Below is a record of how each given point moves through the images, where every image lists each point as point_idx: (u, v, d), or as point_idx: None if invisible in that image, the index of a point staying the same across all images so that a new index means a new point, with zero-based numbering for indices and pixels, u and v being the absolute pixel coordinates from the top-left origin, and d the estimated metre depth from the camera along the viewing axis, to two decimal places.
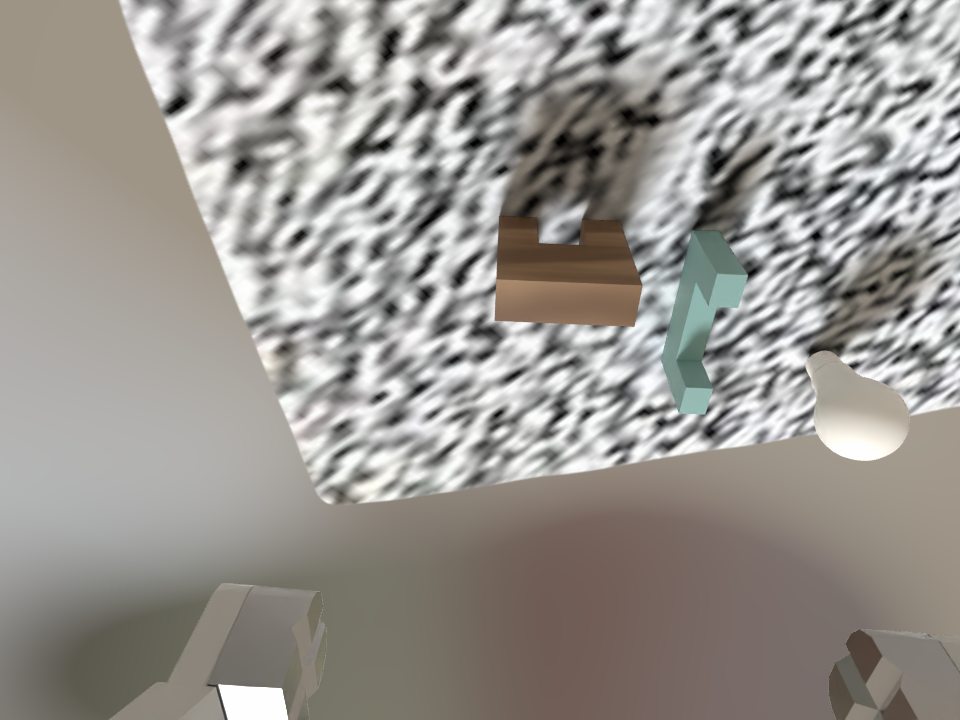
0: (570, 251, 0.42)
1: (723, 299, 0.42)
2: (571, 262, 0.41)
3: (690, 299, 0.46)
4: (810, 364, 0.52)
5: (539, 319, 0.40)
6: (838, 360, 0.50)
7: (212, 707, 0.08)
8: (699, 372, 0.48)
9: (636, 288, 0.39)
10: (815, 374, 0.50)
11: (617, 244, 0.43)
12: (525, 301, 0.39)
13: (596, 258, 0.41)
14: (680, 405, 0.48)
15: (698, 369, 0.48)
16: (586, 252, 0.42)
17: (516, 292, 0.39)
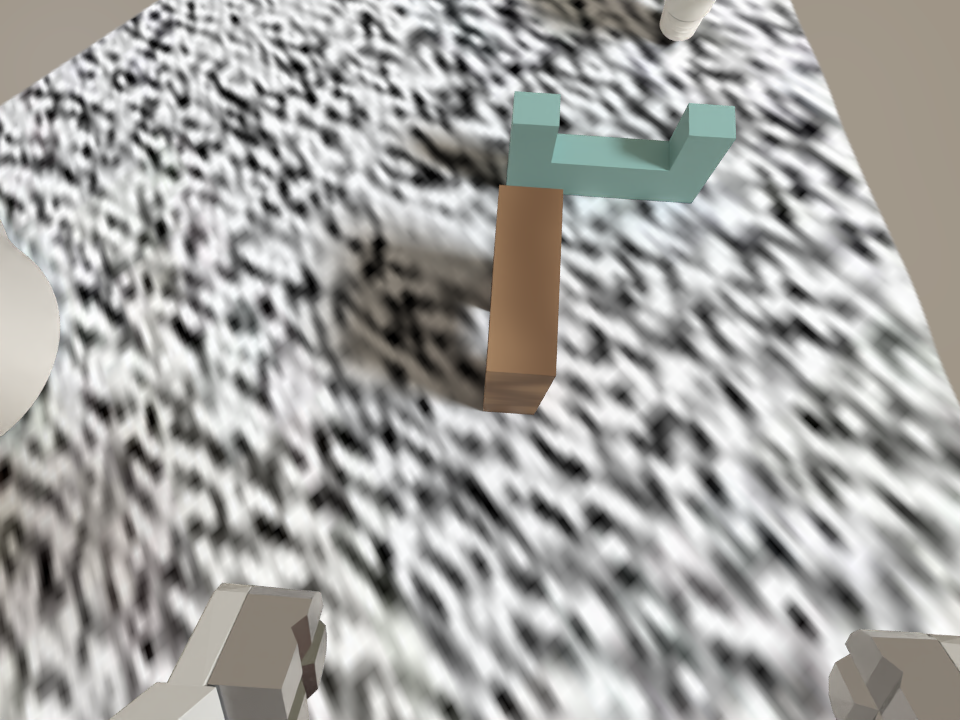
0: None
1: (548, 111, 0.34)
2: None
3: (577, 167, 0.37)
4: (677, 33, 0.42)
5: (553, 312, 0.28)
6: None
7: (212, 707, 0.08)
8: (676, 133, 0.36)
9: (503, 191, 0.29)
10: (682, 17, 0.40)
11: None
12: (523, 332, 0.27)
13: (493, 263, 0.32)
14: (722, 139, 0.34)
15: (675, 137, 0.36)
16: None
17: (507, 343, 0.27)
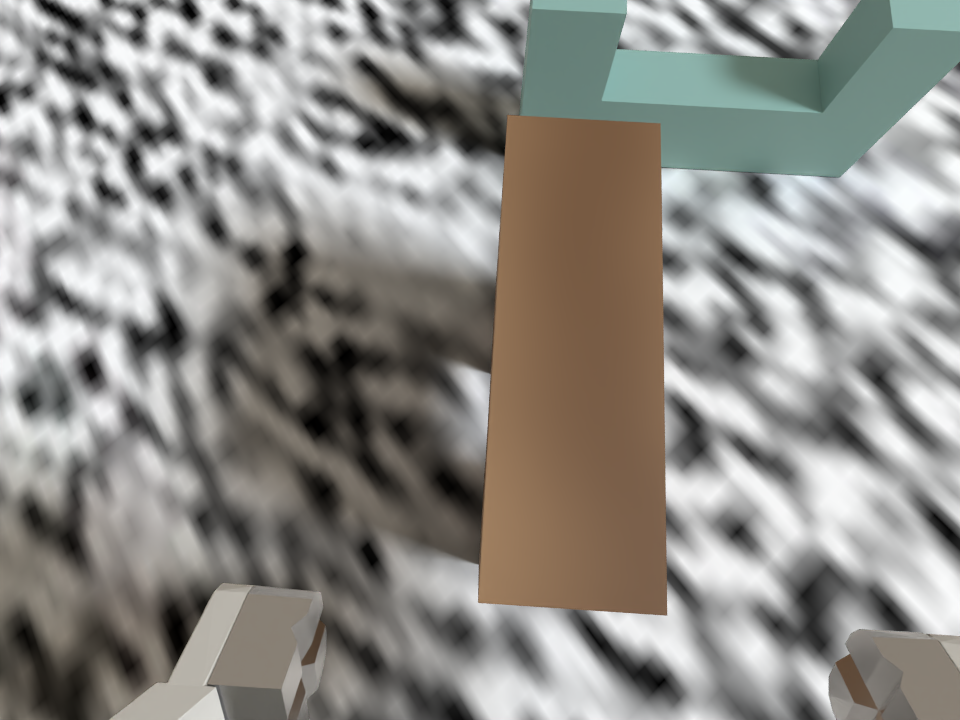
0: None
1: None
2: (492, 355, 0.14)
3: (649, 110, 0.20)
4: None
5: (652, 433, 0.11)
6: None
7: (212, 707, 0.08)
8: (843, 38, 0.19)
9: (517, 129, 0.12)
10: None
11: None
12: (575, 488, 0.10)
13: None
14: None
15: (837, 47, 0.19)
16: None
17: (535, 521, 0.10)
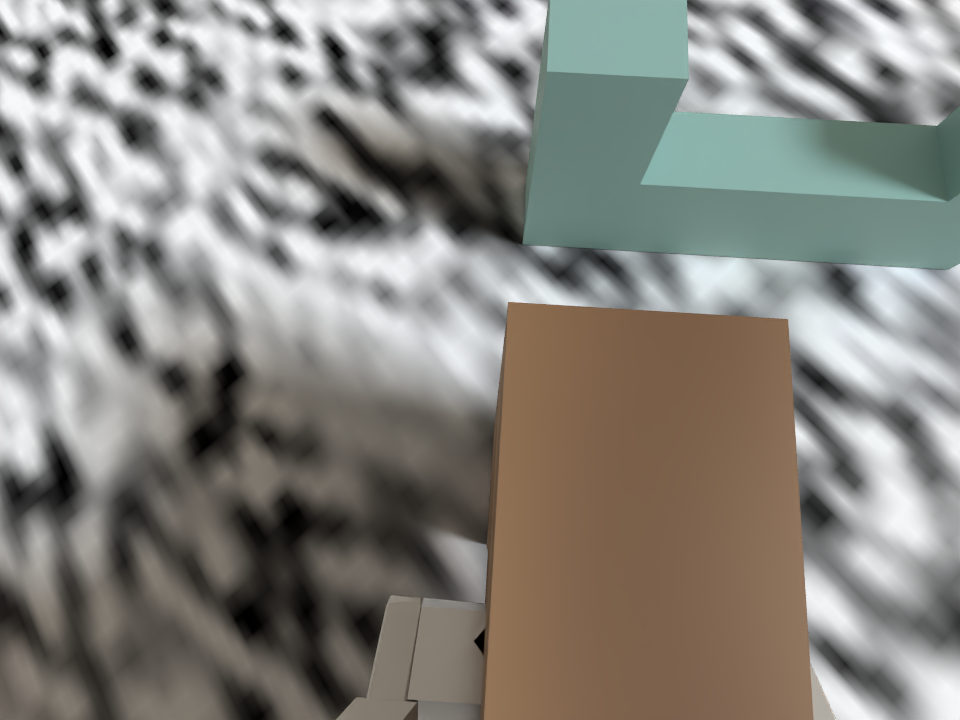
0: None
1: (654, 35, 0.11)
2: None
3: (704, 195, 0.15)
4: None
5: None
6: None
7: None
8: None
9: (527, 332, 0.07)
10: None
11: None
12: None
13: (490, 532, 0.10)
14: None
15: None
16: None
17: None
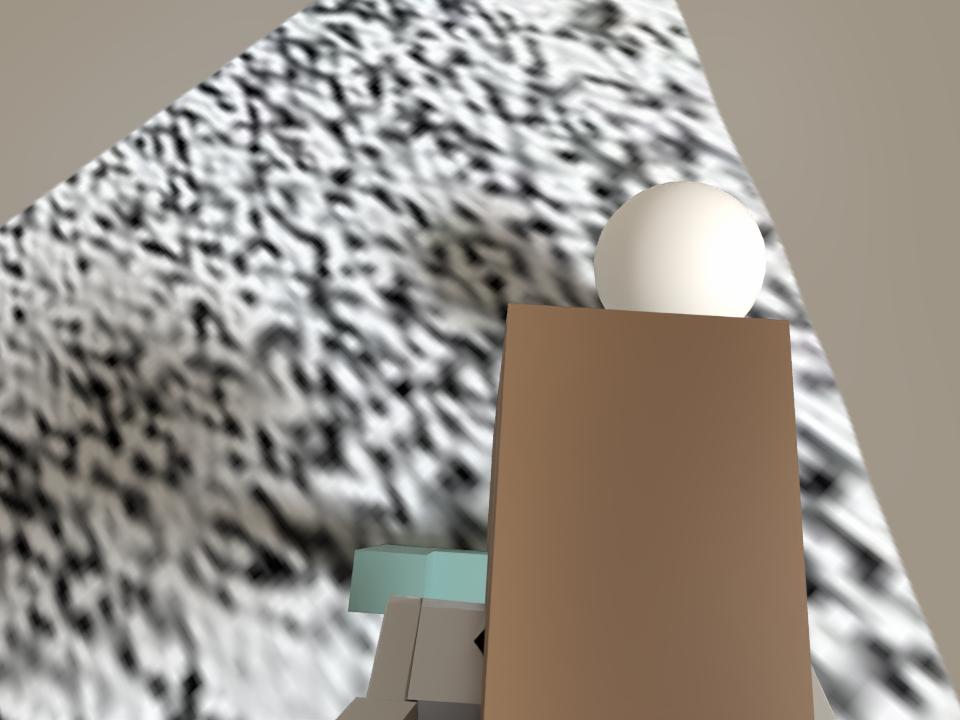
0: None
1: (406, 588, 0.21)
2: None
3: None
4: None
5: None
6: None
7: None
8: None
9: (527, 333, 0.07)
10: None
11: (494, 441, 0.12)
12: None
13: (490, 533, 0.09)
14: None
15: None
16: (487, 570, 0.10)
17: None
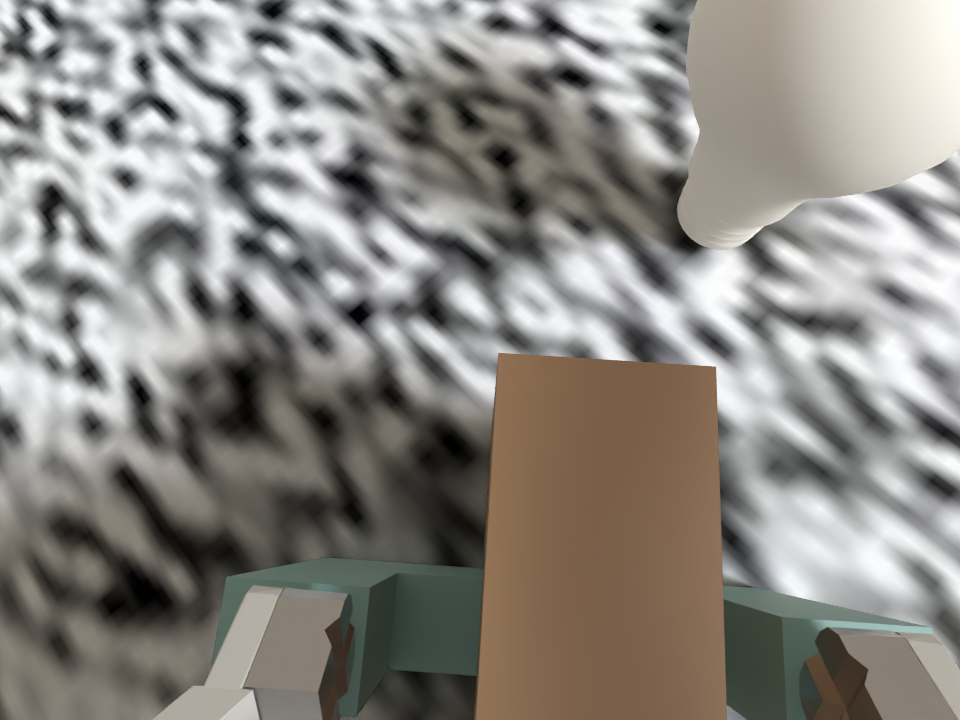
0: None
1: None
2: (479, 643, 0.10)
3: (461, 671, 0.14)
4: (717, 239, 0.18)
5: None
6: None
7: (249, 710, 0.08)
8: (735, 627, 0.12)
9: (513, 376, 0.09)
10: (734, 221, 0.17)
11: (490, 452, 0.14)
12: None
13: None
14: None
15: (728, 626, 0.13)
16: None
17: None
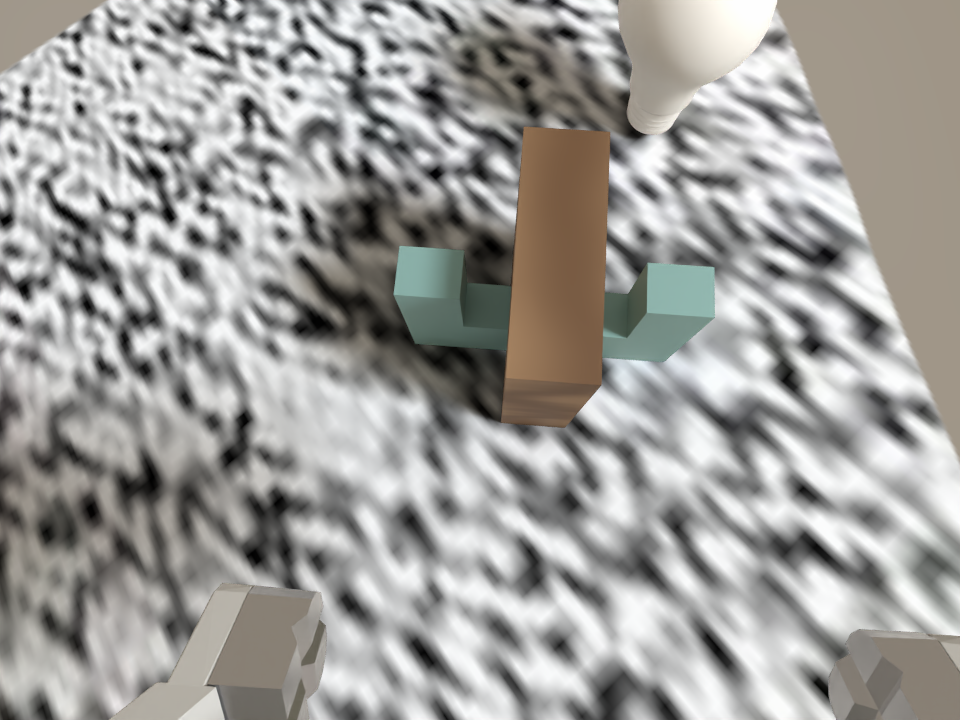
0: None
1: (445, 276, 0.24)
2: None
3: (500, 331, 0.27)
4: (648, 126, 0.31)
5: (597, 298, 0.20)
6: None
7: (212, 707, 0.08)
8: (635, 292, 0.26)
9: (529, 135, 0.22)
10: (653, 111, 0.30)
11: None
12: (556, 324, 0.20)
13: (515, 234, 0.25)
14: (695, 317, 0.23)
15: (633, 296, 0.26)
16: None
17: (535, 340, 0.20)
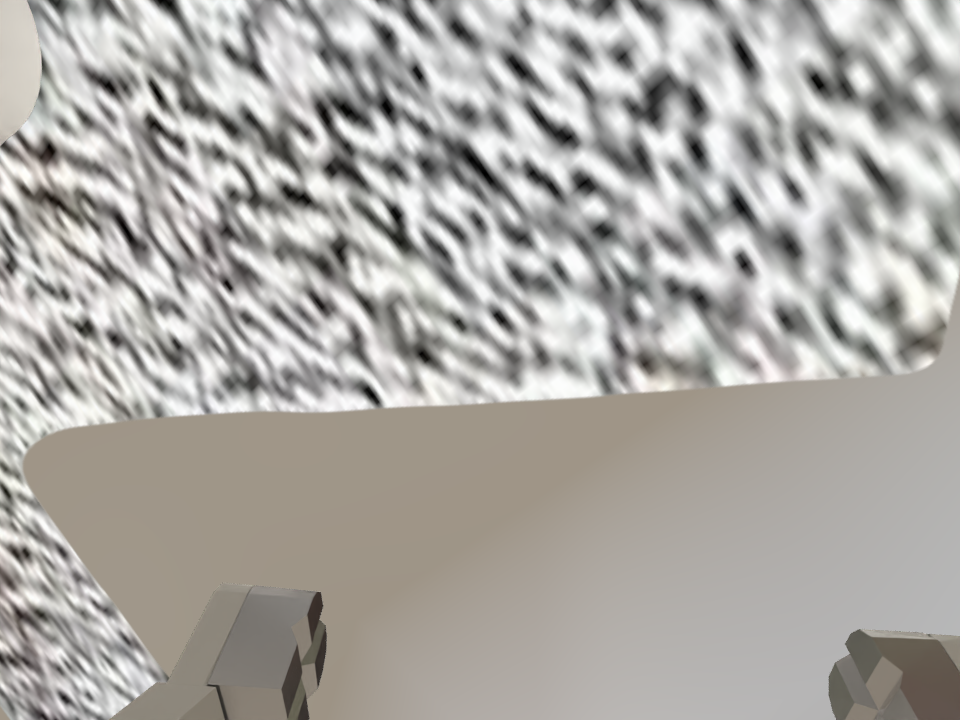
0: None
1: None
2: None
3: None
4: None
5: None
6: None
7: (212, 707, 0.08)
8: None
9: None
10: None
11: None
12: None
13: None
14: None
15: None
16: None
17: None
